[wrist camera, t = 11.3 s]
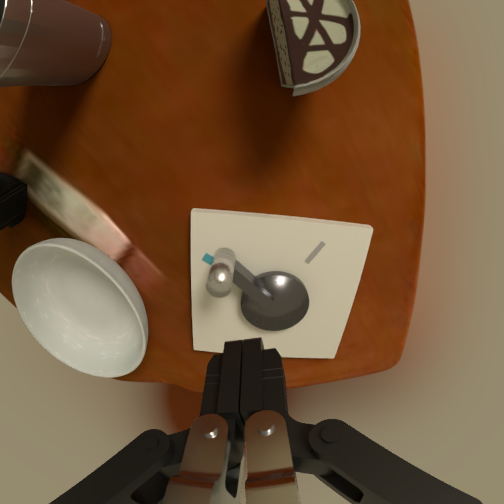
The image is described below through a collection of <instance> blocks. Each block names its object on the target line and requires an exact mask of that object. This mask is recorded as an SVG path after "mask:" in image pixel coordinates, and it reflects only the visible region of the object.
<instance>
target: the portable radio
mask: <svg viewBox="0 0 504 504" xmlns="http://www.w3.org/2000/svg"><path fill="white" fill-rule="evenodd" d="M26 192H27V185H26V184H25V183H24V182H23V181H21V180H19V179H16V178H14V177H12V176H9V175H7V174H4V173H2V172H0V230H2V229H3V228H5V227H6V226H8V227H10V228H12V227H14V226H15V225H17V224H18V223H20V222H21V221H22V220H23V218H24V215H25V207H26Z"/></svg>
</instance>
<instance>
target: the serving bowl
mask: <svg viewBox="0 0 504 504" xmlns="http://www.w3.org/2000/svg"><path fill="white" fill-rule="evenodd" d="M12 290H13V296H14V300H15V303H16V306H17V309H18V311H19V314H20V316H21V318H22V320H23V321H24V323H25V325H26V326H27V328H28V329H29V331H30V332H31V333H32V335H33V336H34V337H35V339H36V340H37V341H38V342H39V343H40V344H41V345H42V346H43V347H44V348H45V349H46V350H47V351H48V352H49V353H50V354H52V355H53V356H54V357H56V358H57V359H58V360H60V361H61V362H63V363H64V364H66V365H68V366H70V367H71V368H74V369H76V370H78V371H80V372H83V373H86V374H89V375H93V376H97V377H108V378H112V377H119V376H123V375H126V374H128V373H130V372H132V371H133V370H135V369H136V368H137V367H138V366H139V364H140V363H141V362H142V360H143V358H144V355H145V351H146V346H147V341H148V320H147V314H146V310H145V307H144V304H143V301H142V299H141V296H140V294H139V292H138V290H137V288H136V287H135V285H134V283H133V282H132V280H131V279H130V278H129V276H128V275H127V274H126V273H125V271H124V270H123V269H122V268H121V267H120V266H119V265H118V264H117V263H116V262H115V261H114V260H113V259H112V258H110V257H109V256H108V255H106V254H105V253H104V252H102V251H101V250H99V249H97V248H95V247H93V246H91V245H89V244H87V243H84V242H82V241H78V240H74V239H69V238H54V239H48V240H44V241H41V242H39V243H36V244H34V245H32V246H30V247H29V248H27V249H26V250H24V251H23V252H22V253H21V255H20V256H19V257H18V259H17V261H16V263H15V266H14V269H13V274H12Z"/></svg>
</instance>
